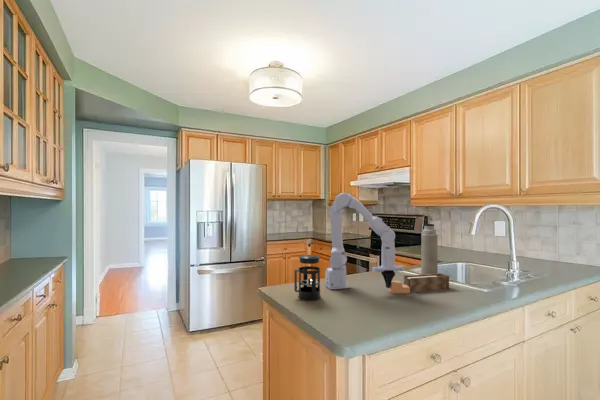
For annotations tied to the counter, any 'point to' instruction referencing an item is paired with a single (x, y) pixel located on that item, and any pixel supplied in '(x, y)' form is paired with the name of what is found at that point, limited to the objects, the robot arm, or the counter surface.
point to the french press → (309, 287)
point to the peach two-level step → (398, 287)
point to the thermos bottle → (429, 250)
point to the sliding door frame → (428, 282)
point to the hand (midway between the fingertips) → (388, 287)
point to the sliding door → (407, 280)
